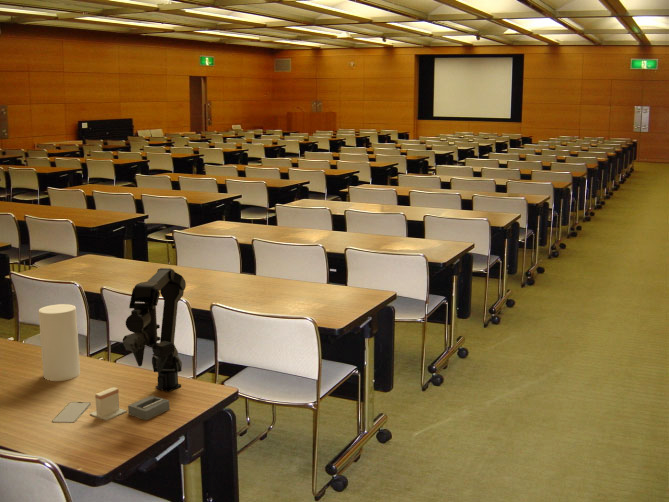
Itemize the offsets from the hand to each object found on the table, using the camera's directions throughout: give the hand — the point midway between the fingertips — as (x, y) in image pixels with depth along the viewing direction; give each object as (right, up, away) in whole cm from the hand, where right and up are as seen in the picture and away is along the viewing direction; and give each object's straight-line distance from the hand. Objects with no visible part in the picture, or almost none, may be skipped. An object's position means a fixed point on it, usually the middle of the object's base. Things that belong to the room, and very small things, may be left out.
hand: (149, 369), depth 226 cm
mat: (-12, -14, -3) cm, 19 cm away
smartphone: (-24, -14, -3) cm, 28 cm away
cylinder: (-40, -7, +30) cm, 50 cm away
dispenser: (0, -13, -2) cm, 14 cm away
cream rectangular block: (-12, -13, -3) cm, 18 cm away
